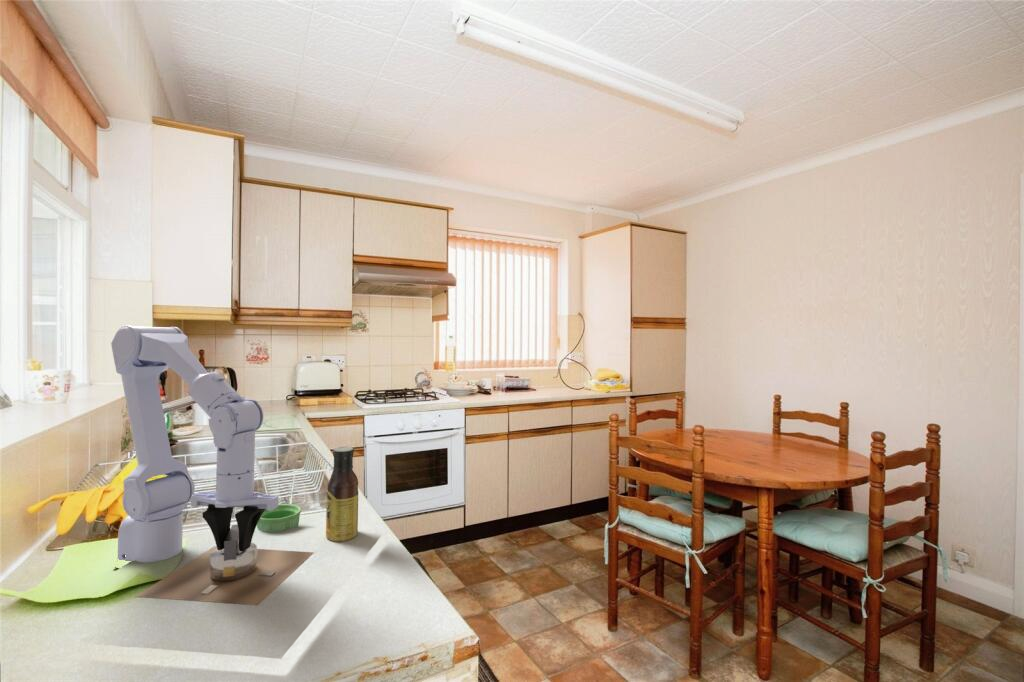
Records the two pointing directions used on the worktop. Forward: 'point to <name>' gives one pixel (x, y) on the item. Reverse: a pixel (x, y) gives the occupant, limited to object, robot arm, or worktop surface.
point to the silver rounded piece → (232, 559)
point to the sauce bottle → (342, 497)
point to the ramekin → (279, 518)
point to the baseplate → (247, 590)
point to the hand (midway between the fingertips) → (233, 548)
